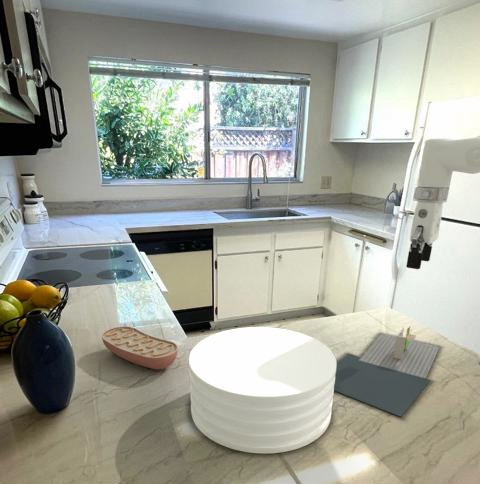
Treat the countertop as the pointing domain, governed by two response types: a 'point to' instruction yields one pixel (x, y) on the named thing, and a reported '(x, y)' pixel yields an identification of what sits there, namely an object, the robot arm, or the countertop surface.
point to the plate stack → (261, 388)
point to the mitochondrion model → (140, 347)
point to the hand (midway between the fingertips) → (418, 264)
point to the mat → (377, 385)
